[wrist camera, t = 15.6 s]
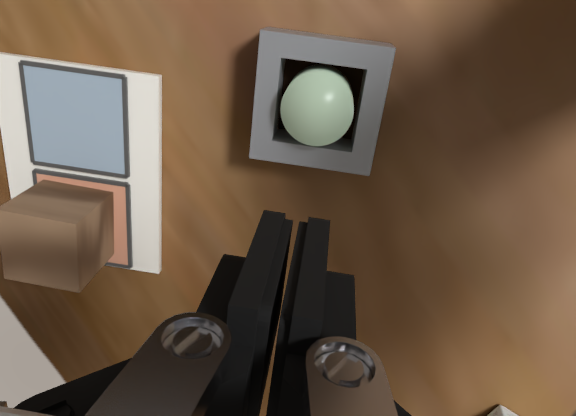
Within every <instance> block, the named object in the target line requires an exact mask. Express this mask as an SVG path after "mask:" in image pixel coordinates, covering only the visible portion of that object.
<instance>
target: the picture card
mask: <svg viewBox="0 0 576 416" xmlns="http://www.w3.org/2000/svg"><path fill="white" fill-rule="evenodd" d="M0 128H1V135H2V141H3V148H4V155H5V162H6V168H7V175H8V182H9V188H10V195H11V199H13V198H14V197H16V196H17V195H19V194H21V193H22V192H24V191H25V190H27V189H29V188H30V187H32V186H34V185H35V184H37V183H38V182H40V181H42V180H43V179H44V180H50V181H55V182H61V183H66V184H72V185H77V186H83V187H88V188H94V189H99V190H105V191H110V192H113V200H114V254H113V256H112V257H111V258H110V259H109V260H108V261H107V262H106V264H105V265H107V266H113V267H119V268H125V269H131V270H138V271H144V272H150V273H156V274H159V273H160V271H161V222H162V75H160V74H153V73H145V72H138V71H131V70H124V69H117V68H110V67H103V66H96V65H89V64H82V63H75V62H68V61H60V60H53V59H46V58H39V57H32V56H25V55H18V54H11V53H4V52H0Z"/></svg>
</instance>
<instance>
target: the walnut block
mask: <svg viewBox="0 0 576 416" xmlns="http://www.w3.org/2000/svg"><path fill="white" fill-rule="evenodd" d="M0 250H1V258H2V265H3V272H4V279H9V280H14V281H20V282H25V283H30V284H35V285H41V286H46V287H51V288H56V289H62V290H67V291H72V292H77V293H80V292H81V291H82V290H83V288H84V287H85V286H86V285H87V284H88V283H89V282H90V281H91V279H92V278H93V277H94V276H95V275H96V274H97V273H98V271H99V270H100V269H101V268H102V267H103V266H104V265H105V264H106V262H107V261H108V260H109V259H110V258H111V257H112V256H113V254H114V200H113V192H110V191H105V190H99V189H94V188H88V187H83V186H77V185H72V184H66V183H61V182H55V181H50V180H44V179H43V180H42V181H40V182H38V183H37V184H35V185H34V186H32V187H30V188H29V189H27V190H25V191H24V192H22V193H21V194H19V195H17V196H16V197H14V198H13V199H11V200H9V201H8V202H6V203H4V204H3V205H1V206H0Z"/></svg>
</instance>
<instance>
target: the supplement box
mask: <svg viewBox="0 0 576 416" xmlns="http://www.w3.org/2000/svg"><path fill="white" fill-rule="evenodd" d="M487 416H518V415H517V414H515V413H513V412H512V411H510V410H509V409H507V408H505V407H504V406H502V405H499V406H498V407H496V408H495V409H494V410H493V411H492V412H491V413H489V414H488V415H487Z"/></svg>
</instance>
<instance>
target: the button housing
mask: <svg viewBox="0 0 576 416" xmlns="http://www.w3.org/2000/svg"><path fill="white" fill-rule="evenodd" d="M395 51H396V48H395V47H394V46H393V45H392V44H391V43H385V42H378V41H371V40H363V39H356V38H348V37H341V36H333V35H326V34H319V33H311V32H304V31H296V30H289V29H282V28H274V27H266V28H263V29H261V30H260V37H259V49H258V60H257V72H256V84H255V95H254V107H253V118H252V130H251V141H250V153H249V158H251V159H258V160H265V161H272V162H278V163H285V164H292V165H299V166H305V167H312V168H319V169H325V170H332V171H339V172H346V173H352V174H359V175H366V176H370V172H371V167H372V162H373V157H374V152H375V147H376V143H377V138H378V133H379V128H380V123H381V118H382V114H383V109H384V104H385V99H386V94H387V89H388V85H389V80H390V75H391V70H392V65H393V60H394V56H395ZM286 58H287V59H294V60H302V61H309V62H316V63H323V64H331V65H338V66H345V67H352V68H360V69H364V72H363V78H362V83H361V89H360V94H359V100H358V105H357V111H356V116H355V122H354V127H353V133H352V138H351V139H345V138H340V139H338V140H337V141H335V142H333V143H331V144H328V145H324V146H310V145H306V144H303V143H301V142H299V141H298V140H296V139H295V138H293V137H292V136H291V135H290V134H289V133H288V131H287V130H283V129H278V124H279V115H280V106H281V97H282V88H283V79H284V70H285V61H286Z"/></svg>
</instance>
